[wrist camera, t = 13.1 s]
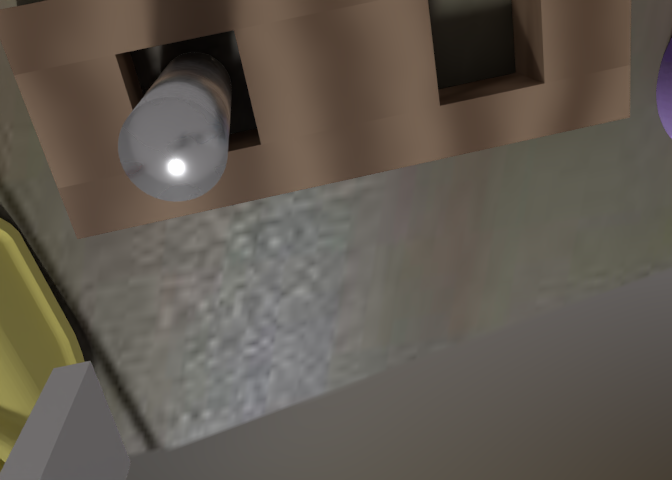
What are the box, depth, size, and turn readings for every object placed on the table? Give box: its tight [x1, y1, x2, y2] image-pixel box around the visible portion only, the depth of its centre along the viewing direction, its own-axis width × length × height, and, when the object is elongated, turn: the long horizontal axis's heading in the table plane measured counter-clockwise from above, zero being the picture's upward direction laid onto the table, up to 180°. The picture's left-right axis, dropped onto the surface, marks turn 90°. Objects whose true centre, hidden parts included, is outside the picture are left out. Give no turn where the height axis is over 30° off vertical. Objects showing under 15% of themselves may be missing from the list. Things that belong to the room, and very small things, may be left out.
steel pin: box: [118, 52, 232, 202], centre depth 30 cm, size 4×4×14 cm
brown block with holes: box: [0, 0, 631, 239], centre depth 35 cm, size 32×12×4 cm, turn 100°
